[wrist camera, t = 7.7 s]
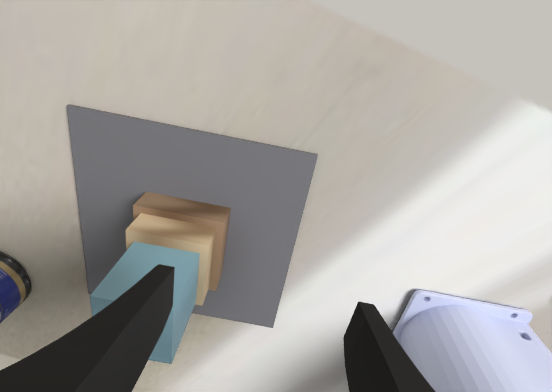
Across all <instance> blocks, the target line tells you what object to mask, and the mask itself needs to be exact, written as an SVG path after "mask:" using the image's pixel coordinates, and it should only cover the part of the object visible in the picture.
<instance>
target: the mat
mask: <svg viewBox="0 0 552 392" xmlns="http://www.w3.org/2000/svg"><path fill="white" fill-rule="evenodd" d="M67 113H68V121H69V130H70V138H71V147H72V155H73V164H74V172H75V181H76V189H77V198H78V206H79V215H80V223H81V232H82V240H83V249H84V257H85V266H86V274H87V283H88V291H89V294H92V293H93V291H94V290H95V289H96V288H97V287H98V285H99V284H100V283H101V282H102V280H103V279H104V278H105V277H106V276H107V274H108V273H109V272H110V271H111V269H112V268H113V267H114V266H115V264H116V263H117V262H118V261H119V260H120V258H121V257H122V256H123V255H124V253H125V252H126V229H127V228H128V227H129V226H130V224H131V223H132V222H133V205H134V204H135V203H136V202H137V201H138V200H139V199H140V198H141V197H142V196H143V195H144V194H145V193H146V192H151V193H156V194H162V195H167V196H172V197H177V198H182V199H187V200H192V201H198V202H203V203H208V204H213V205H218V206H223V207H229V208H231V212H230V219H229V226H228V233H227V240H226V248H225V255H224V262H223V269H222V275H221V278H220V281H219V284H218V287H217V290H216V291H212V290H208V292H207V294H206V297H205V300H204V303H203V305H202V306H201V305H194V308H193V310H192V313H195V314H201V315H206V316H212V317H217V318H222V319H228V320H233V321H239V322H244V323H249V324H255V325H260V326H266V327H271V328H273V325H274V321H275V317H276V313H277V310H278V306H279V302H280V298H281V294H282V290H283V287H284V283H285V279H286V275H287V271H288V268H289V264H290V260H291V256H292V252H293V248H294V245H295V241H296V237H297V233H298V229H299V225H300V222H301V218H302V214H303V210H304V206H305V202H306V199H307V195H308V191H309V187H310V183H311V179H312V176H313V172H314V168H315V164H316V160H317V156H318V155H317V154H314V153H309V152H304V151H299V150H294V149H289V148H284V147H279V146H274V145H269V144H264V143H259V142H254V141H249V140H244V139H239V138H234V137H229V136H224V135H219V134H214V133H209V132H204V131H199V130H194V129H189V128H184V127H179V126H174V125H169V124H164V123H159V122H155V121H150V120H145V119H140V118H135V117H130V116H125V115H120V114H115V113H110V112H105V111H100V110H95V109H90V108H85V107H80V106H75V105H67Z"/></svg>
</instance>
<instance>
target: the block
mask: <svg viewBox="0 0 552 392" xmlns="http://www.w3.org/2000/svg"><path fill="white" fill-rule="evenodd" d="M199 257H200V253H196V252H190V251H185V250H179V249H173V248H168V247H162V246H157V245H151V244H146V243H140V242H135V241H134V242H133V244H132V245H131V246H130V247H129V249H128V250H127V251H126V252H125V253H124V255H123V256H122V257H121V258H120V260H119V261H118V262H117V263H116V264H115V266H114V267H113V268H112V269H111V271H110V272H109V273H108V274H107V276H106V277H105V278H104V279H103V280H102V282H101V283H100V284H99V285H98V287H97V288H96V289H95V290H94V291H93V293H92V294H91V295H90V301H91V309H92V317H93V316H94V315H95V314H97V313H98V312H100V311H101V310H102V309H104V308H105V307H107V306H108V305H109V304H111V303H112V302H113V301H114V300H116V299H117V298H118V297H120V296H121V295H122V294H123V293H125V292H126V291H127V290H128V289H130V288H131V287H132V286H133V285H134V284H136V283H137V282H138V281H139V280H140V279H142V278H143V277H144V276H145V275H146V274H147V273H148V272H150V271H151V270H152V269H153V268H154V267H155V266H157V265H158V264H161V265H167V266H172V267H175V272H174V292H173V307H172V309H171V312H170V315H169V317H168V320H167V322H166V325H165V327H164V330H163V332H162V334H161V336H160V338H159V340H158V342H157V344H156V346H155V348H154V350H153V352H152V353H151V355H150V357H149V359H148V360H152V361H158V362H163V363H169V364H172V361H173V359H174V356H175V354H176V351H177V348H178V346H179V343H180V341H181V338H182V336H183V333H184V331H185V328H186V325H187V323H188V320H189V318H190V315H191V313H192V310H193V308H194V305H195V303H196V295H197V283H198V270H199Z"/></svg>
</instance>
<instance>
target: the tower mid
mask: <svg viewBox="0 0 552 392" xmlns="http://www.w3.org/2000/svg"><path fill="white" fill-rule="evenodd" d="M216 229H217V228H215V227H210V226H205V225H200V224H195V223H189V222H184V221H179V220H174V219H169V218H163V217H158V216H153V215H148V214H143V213H140V215H139V216H138V217H137V218H136V219H135V220H134V221H133V222H132V223H131V224H130V226H129V227H128V228H127V229H126V251H127V250H128V249H129V247H130V246H131V245H132V244H133V242H134V241H135V242H140V243H146V244H151V245H157V246H162V247H168V248H173V249H179V250H185V251H190V252H196V253H200V257H199V270H198V283H197V295H196V303H195V305H201V306H202V305H203V303H204V300H205V297H206V294H207V292H208V289H209V286H210V280H211V271H212V263H213V255H214V246H215V238H216Z"/></svg>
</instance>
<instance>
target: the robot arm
mask: <svg viewBox="0 0 552 392" xmlns="http://www.w3.org/2000/svg"><path fill="white" fill-rule="evenodd" d="M174 272H175V267H172V266H167V265H161V264H158V265H157V266H155V267H154V268H153V269H152V270H151V271H150V272H148V273H147V274H146V275H145V276H144V277H143V278H142V279H140V280H139V281H138V282H137V283H136V284H134V285H133V286H132V287H131V288H130V289H128V290H127V291H126V292H125V293H123V294H122V295H121V296H120V297H118V298H117V299H116V300H114V301H113V302H112V303H111V304H109V305H108V306H107V307H105V308H104V309H102V310H101V311H100V312H98V313H97V314H95V315H94V316H93V317H91V318H90V319H88V320H87V321H86V322H84V323H83V324H81V325H80V326H78V327H77V328H75V329H74V330H72V331H70V332H69V333H67V334H66V335H64V336H62V337H61V338H59V339H58V340H56V341H54V342H52V343H51V344H49V345H47V346H45V347H44V348H42V349H40V350H39V351H37V352H35V353H33V354H31V355H30V356H28V357H26V358H24V359H22V360H20V361H18V362H17V363H15V364H13V365H11V366H8V367H6V368H5V369H2V370H1V371H0V392H132V390H133V388H134V386H135V384H136V382H137V380H138V378H139V376H140V375H141V373H142V371H143V369H144V367H145V365H146V363H147V361H148V359H149V357H150V355H151V353H152V352H153V350H154V348H155V346H156V344H157V342H158V340H159V338H160V336H161V334H162V332H163V330H164V327H165V325H166V322H167V320H168V317H169V315H170V312H171V309H172V307H173V292H174ZM425 297H427V298H425ZM532 318H533V315H532V314H531V313H530V311H528V310H524V309H518V308H513V307H508V306H503V305H497V304H492V303H487V302H482V301H476V300H471V299H466V298H461V297H455V296H450V295H445V294H440V293H434V292H429V291H424V290H417V291H415V292H414V293H413V295H412V297H411V298H410V300H409V302H408V304H407V306H406V308H405V310H404V312H403V314H402V316H401V318H400V320H399V322H398V324H397V325H396V327H395V329H394V331H393V333H392V332H391V330H390V328H389V327H388V325H387V324H386V322H385V321H384V319H383V318H382V316H381V315H380V313H379V312H378V310H377V309H376V307H375V306H374V305H373V304H368V303H363V302H358V304H357V306H356V309H355V311H354V314H353V316H352V318H351V321H350V323H349V326H348V328H347V330H346V333H345V335H344V357H345V368H346V374H347V380H348V386H349V392H552V354H551V352H550V351H549V350H548V349H547V347H546V346H545V345H544V344H543V342H542V341H541V340H540V339H539V338H538V336H537V335H536V334H535V333H534V331H533V330H532V329H531V328H530V326H529V325H528V323H529V322H530V321H531V320H532Z"/></svg>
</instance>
